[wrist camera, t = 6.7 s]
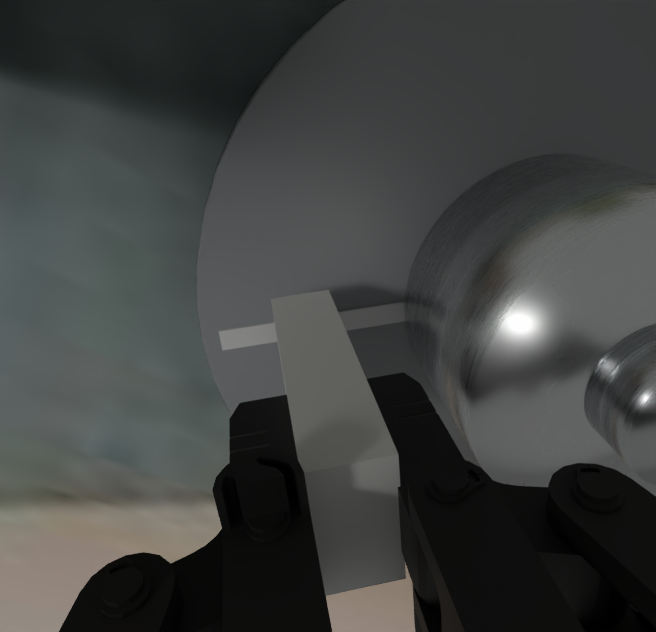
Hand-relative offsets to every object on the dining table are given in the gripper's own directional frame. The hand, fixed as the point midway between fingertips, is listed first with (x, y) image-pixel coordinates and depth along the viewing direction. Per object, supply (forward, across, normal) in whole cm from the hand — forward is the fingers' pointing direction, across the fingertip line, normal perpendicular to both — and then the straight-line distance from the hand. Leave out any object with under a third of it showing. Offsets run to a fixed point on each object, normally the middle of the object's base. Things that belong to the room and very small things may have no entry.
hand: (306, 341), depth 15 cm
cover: (+1, +7, 0) cm, 7 cm away
